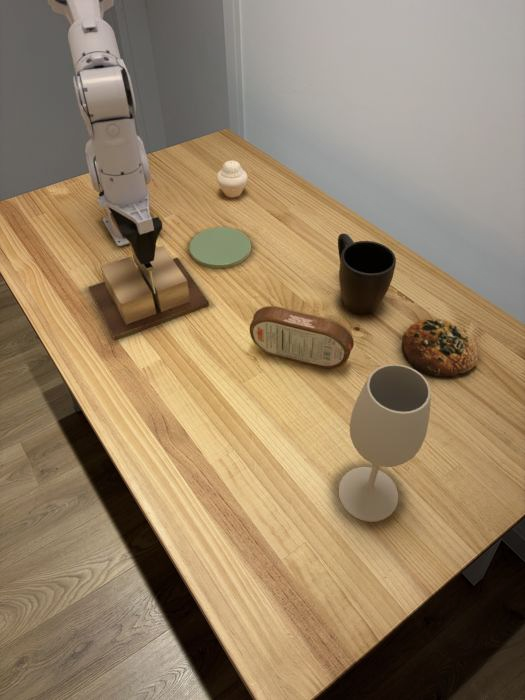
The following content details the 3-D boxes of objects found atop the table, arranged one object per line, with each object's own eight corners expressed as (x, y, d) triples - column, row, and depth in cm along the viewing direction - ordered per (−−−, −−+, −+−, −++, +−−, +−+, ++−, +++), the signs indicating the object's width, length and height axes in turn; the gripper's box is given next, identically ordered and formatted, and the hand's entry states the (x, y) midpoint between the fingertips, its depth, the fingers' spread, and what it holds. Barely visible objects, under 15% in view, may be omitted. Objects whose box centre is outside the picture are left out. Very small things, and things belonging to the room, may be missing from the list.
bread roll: (393, 366, 80) (401, 340, 77) (406, 323, 88) (415, 298, 85) (470, 390, 78) (482, 364, 75) (477, 344, 86) (488, 319, 83)
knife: (115, 237, 94) (109, 211, 90) (123, 234, 94) (117, 209, 90) (150, 294, 84) (145, 268, 80) (159, 291, 84) (154, 265, 81)
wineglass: (331, 468, 70) (350, 360, 54) (391, 464, 70) (427, 354, 54) (342, 526, 65) (367, 424, 49) (406, 520, 65) (451, 418, 49)
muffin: (253, 189, 112) (252, 157, 107) (239, 204, 109) (238, 172, 103) (226, 182, 114) (224, 150, 109) (212, 197, 110) (209, 165, 105)
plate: (180, 241, 101) (179, 237, 100) (234, 224, 104) (233, 220, 104) (205, 276, 94) (204, 272, 94) (261, 256, 98) (261, 252, 97)
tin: (350, 362, 81) (357, 321, 75) (345, 377, 79) (352, 337, 73) (254, 338, 85) (253, 297, 78) (247, 352, 83) (246, 312, 77)
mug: (359, 268, 96) (366, 222, 89) (395, 313, 88) (406, 266, 81) (316, 280, 94) (320, 233, 87) (350, 327, 86) (357, 280, 79)
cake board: (89, 290, 92) (81, 265, 88) (178, 260, 97) (174, 236, 93) (114, 340, 85) (106, 315, 81) (209, 305, 90) (206, 280, 86)
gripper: (74, 147, 76) (97, 229, 86) (108, 199, 67) (128, 283, 78) (123, 135, 78) (140, 216, 88) (162, 184, 70) (175, 267, 80)
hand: (137, 247), depth 83 cm, fingers open, 7 cm apart
